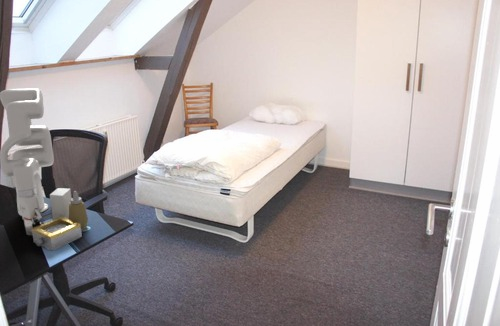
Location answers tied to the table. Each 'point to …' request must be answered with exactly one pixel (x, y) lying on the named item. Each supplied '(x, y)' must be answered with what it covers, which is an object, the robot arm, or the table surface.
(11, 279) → the table surface
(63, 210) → the skincare box
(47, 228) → the box
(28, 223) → the spout can
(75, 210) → the squeeze bottle
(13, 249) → the table surface
